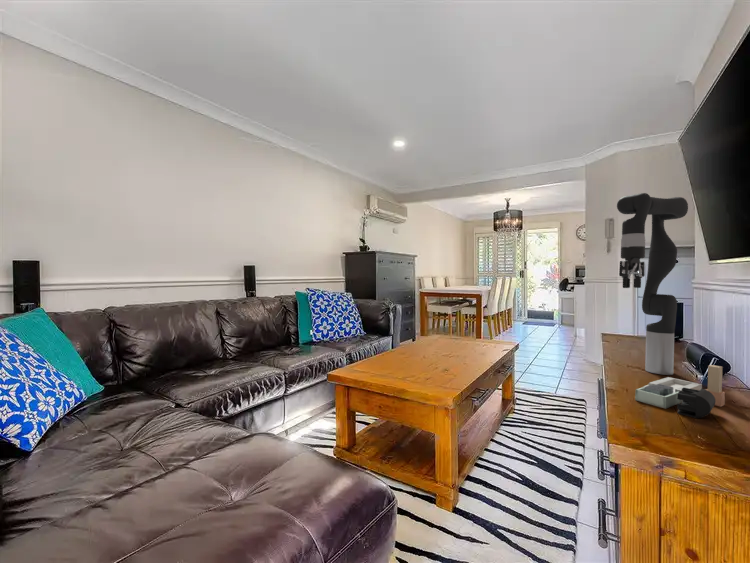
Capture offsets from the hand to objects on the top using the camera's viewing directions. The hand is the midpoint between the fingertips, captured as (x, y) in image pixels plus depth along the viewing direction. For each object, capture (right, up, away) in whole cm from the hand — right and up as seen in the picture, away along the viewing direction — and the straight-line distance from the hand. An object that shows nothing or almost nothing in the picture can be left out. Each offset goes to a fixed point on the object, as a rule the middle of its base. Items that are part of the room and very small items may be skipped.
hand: (631, 287), depth 132 cm
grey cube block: (-6, -36, -21) cm, 42 cm away
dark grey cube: (-8, -34, -22) cm, 41 cm away
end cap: (-5, -37, -32) cm, 49 cm away
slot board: (+3, -36, -16) cm, 40 cm away
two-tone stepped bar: (+9, -37, -24) cm, 44 cm away
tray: (-9, -36, -22) cm, 44 cm away
